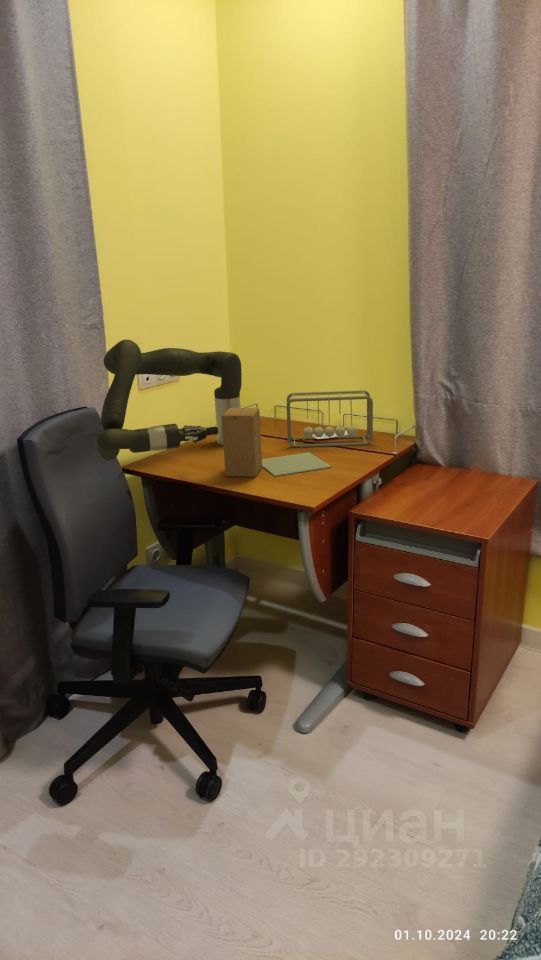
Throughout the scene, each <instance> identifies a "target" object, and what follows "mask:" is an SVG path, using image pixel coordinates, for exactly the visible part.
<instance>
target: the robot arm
mask: <svg viewBox="0 0 541 960" xmlns="http://www.w3.org/2000/svg"><path fill="white" fill-rule="evenodd" d="M103 366H104V367H105V369H106V370H107V371H108V372H109V373H111V374H113V375H114V376H113V380H112V382H111V384H110V386H109V388H108V391H107V393H106V394H105V395H106V396H105V398H104V401H103V405H102V408H101V414H100V425H101V424H102V426H103V429H104V430H103V431H101V432H100V431H99V432H100V433H99V432H98V434H97V435H96V438H95V449H96V448H97V451H98V452H99V454H100V455H101V457H102V458H103V459H105V460H106V462H108V461H109V462H110V461H113V460H115V459H116V458H117V457H118V456H119V454H120V450H129V451H130V452H131V453H134V454H139V453H146V452H158V451H159V452H160V451H166V450H167V451H168V450H173V449H179V448H180V447H181V443H182V442H185V443H190V442H191V443H198V442H200V441H203V440H205V439H207V437H209V436H214V435H215V436H217V444H218V445H219V446H223V431H222V415H223V414H224V413H225V412H226V411H227V410H228V409H229V408H242V406H241V390H242V386H243V385H242V384H243V383H242V381H243V380H242V375H243V374H242V362H241V359H240V357H239V355H238V354H236V353H234V352H230V351H229V352H228V351H223V350H222V351H209V352H208V351H207V352H205V351H204V352H198V351H194V350H191V349H185V348H178V347H177V348H176V347H165V348H159V349H155V350H150V351H146V352H142V351H141V348H140V346H139V345H138V344H137V343H136V342H135V341H133V340H131V339H122V340H120V341H118V342H116V344H115V345H113V346H112V347H111V348H110V349H109V350H107V352H106V353H105V355H104V357H103ZM196 374H201V375H208V376H211V377H212V376H213V377H216V378H221V379H220V386H219V387H216V388H215V389H214V391H213V395H214V408H215V421H216V423H215V424H216V426H209V427H208V426H207V427H205V426H202V425H183V426H182V428H179V426H178V424H176V423H170V424H160V425H153V426H150V427H145V428H137V429H127V428H124V424H125V420H126V413H127V409H128V408H127V407H128V402H129V399H130V394H131V391H132V387H133V384H134V381H135V378H136V377H135V376H136V375H152V376H154V375H155V376H172V377H184V376H185V377H186V376H191V375H196ZM105 460H104V461H105Z"/></svg>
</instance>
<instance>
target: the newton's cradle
mask: <svg viewBox="0 0 541 960" xmlns="http://www.w3.org/2000/svg"><path fill="white" fill-rule="evenodd" d="M360 394H361V395H360ZM362 394H363V395H362ZM335 395H336V396H335ZM341 395H349V396H341ZM354 395H356V396H354ZM304 396H306V397H304ZM308 396H310V397H308ZM311 396H318V397H311ZM319 396H320V397H319ZM321 396H323V397H321ZM325 396H327V397H325ZM297 397H299V398H297ZM352 400H366V433H365V434H364V435H362V434H361V435H356V434H357V433H358V428H357V426H355V425H353V411H352V409H353V407H352V402H353V401H352ZM323 401H325V402H326V401H328V426H327V427H326V428H325V429H324V428H323V427H321V426H320V419H319V418H320V415H319V414H320V413H319V411H320V410H319V409H320V407H319V402H323ZM330 401H339V402H338V404H339V408H338V409H339V412H338V413H341V401H349V404H350V423H351V425H349V426H348V427H347V428H346V429H345V427H344V426H342V425H339V426H336V427H335V428H334V427H333V426H331V425H330V423H331V422H330V421H331V420H330V419H331V418H330V415H331V414H330V413H331V412H330ZM296 402H306V409H307V410H306V411H307V418H309V408H308V407H309V405H308V404H309V403H308V402H317V420H318V425H317V426H316V427H315V428H314V429H313V428H312V427H310V426H307V427H304V428H303V430H302V434H303V436H302V437H298V436H297V437H294V436H292V426H291V425H292V422H291V403H296ZM286 425H287V426H286V427H287V444H288V446H289V447H290V448H293V447H299V448H320V447H319V446H329V447H351V446H353V447H355V446H358V445H359V446H369V445H371V444H372V442H373V439H374V434H373V433H374V432H373V431H374V427H373V426H374V400H373V399H372V397H371V395H370V392H368V391H367V390H365V389H364V390H342V391H341V390H337V391H313V392H312V391H311V392H306V391H305V392H291V393H289V394H287V396H286ZM346 433H347V435H345V434H346ZM313 435H314V436H313ZM324 435H325V437H327V436H328V437H331V436H338V438H346V439H345V440H351V439H352V440H353V439H354V438H355V440H356V439H363V440H364V441H361V442H359V441H358V442H336V443H335V442H331V443H330V442H328V443H304V444H303V443H301V444H300V443H299V444H296V441H295V440H297V439H313V437H324ZM368 437H369V440H368V441H366V438H368ZM293 440H294V441H293ZM292 441H293V443H292ZM297 441H298V440H297Z"/></svg>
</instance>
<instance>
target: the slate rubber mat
mask: <svg viewBox="0 0 541 960" xmlns="http://www.w3.org/2000/svg"><path fill="white" fill-rule="evenodd" d="M263 467H264V468H265V469H264V468H263ZM262 468H263V469H264V470H266V472H268V471H269V472H270V473H269V472H268V473H269V474H271V475H272V476H273V477H274V476H277V477H283V476H287V475H293V474H294V475H295V473H296V474H301V473H302V474H303V473H306V472H307V473H308V472H313V471H320V470H321V471H322V470H326V469H332V466H331V465H330V464H329V463H327V462H325V461H323V459H321V458H319V457H318V456H316V455H314V454H312V453H311V452H309V451H308V452H301V453H295V454H289V455H281V456H275V457H269V458H268V457H267V458H262ZM282 475H283V476H282Z"/></svg>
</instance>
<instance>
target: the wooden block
mask: <svg viewBox="0 0 541 960" xmlns="http://www.w3.org/2000/svg"><path fill="white" fill-rule="evenodd" d="M222 431H223V445H222V446H223V457H224V472H225V473H224V474H225V477H227V476H233V477H234V476H239V477H238V478H241V477H240V476H243V477H242V478H256V477H258V474H260V472H261V470H262V468H263V467H262V459H263V458H262V457H263V456H262V455H263V454H262V439H261V438H262V436H261V435H262V434H261V415H260V408H259V407H256V408H255V407H241V408H229V409H228V410H227V411H226V412H225V413H224V414H223V415H222ZM244 476H245V477H244ZM233 477H232V478H233Z"/></svg>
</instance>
